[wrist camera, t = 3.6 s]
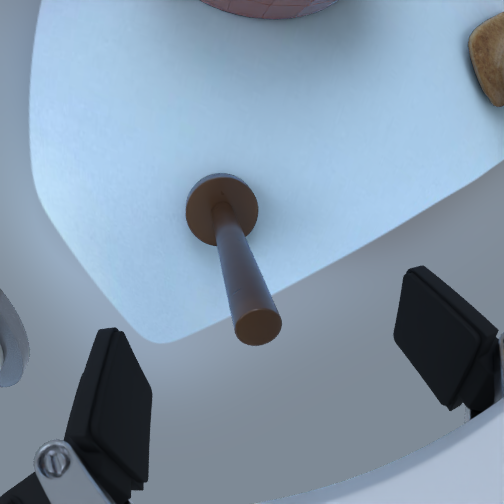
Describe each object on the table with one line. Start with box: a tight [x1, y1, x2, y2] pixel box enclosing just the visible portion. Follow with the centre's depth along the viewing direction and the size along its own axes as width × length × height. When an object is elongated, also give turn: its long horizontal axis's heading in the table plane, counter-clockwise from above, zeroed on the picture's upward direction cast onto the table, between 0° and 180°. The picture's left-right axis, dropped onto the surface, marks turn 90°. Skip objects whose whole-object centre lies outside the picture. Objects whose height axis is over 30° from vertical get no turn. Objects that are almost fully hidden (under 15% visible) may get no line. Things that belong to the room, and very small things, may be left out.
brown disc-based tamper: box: [186, 173, 282, 346], centre depth 16 cm, size 5×5×15 cm
